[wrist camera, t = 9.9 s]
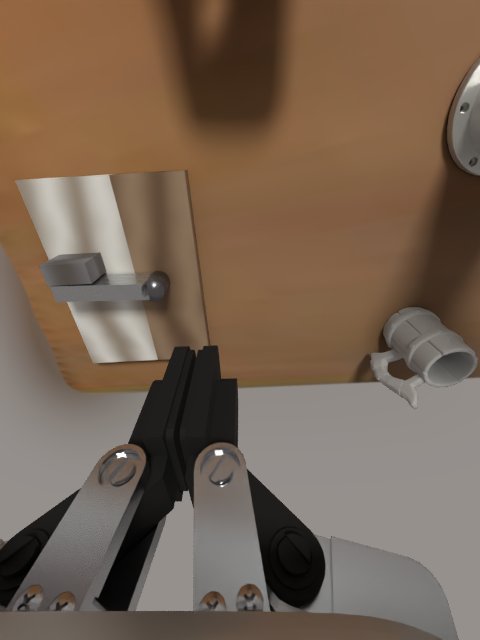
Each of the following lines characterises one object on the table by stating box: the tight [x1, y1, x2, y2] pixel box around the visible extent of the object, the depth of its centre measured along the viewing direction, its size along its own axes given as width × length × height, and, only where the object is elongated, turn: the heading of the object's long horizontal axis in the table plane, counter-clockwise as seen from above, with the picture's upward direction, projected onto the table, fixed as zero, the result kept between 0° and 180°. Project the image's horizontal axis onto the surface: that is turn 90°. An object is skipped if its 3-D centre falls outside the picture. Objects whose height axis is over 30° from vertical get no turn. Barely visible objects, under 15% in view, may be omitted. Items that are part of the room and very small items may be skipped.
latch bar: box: [50, 271, 170, 302], centre depth 32 cm, size 13×3×4 cm, turn 91°
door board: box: [15, 170, 210, 363], centre depth 34 cm, size 18×25×6 cm
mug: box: [370, 307, 478, 409], centre depth 37 cm, size 8×12×12 cm, turn 134°
